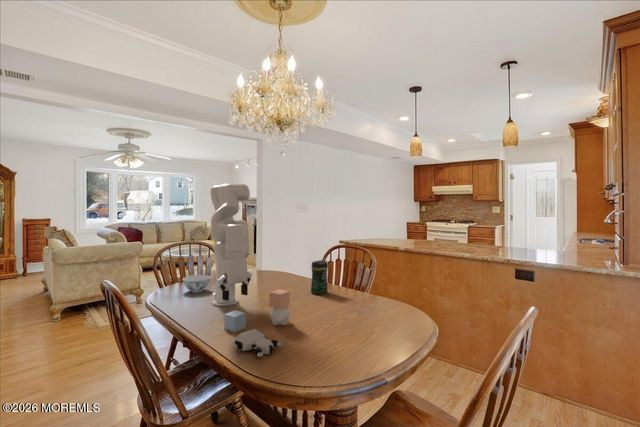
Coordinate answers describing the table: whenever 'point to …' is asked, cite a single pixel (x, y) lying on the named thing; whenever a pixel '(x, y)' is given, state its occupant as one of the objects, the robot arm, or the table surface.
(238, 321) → the slate block
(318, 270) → the coffee jar
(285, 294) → the terracotta block
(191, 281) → the chinaware
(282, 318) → the die
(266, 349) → the robot toy
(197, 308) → the table surface
